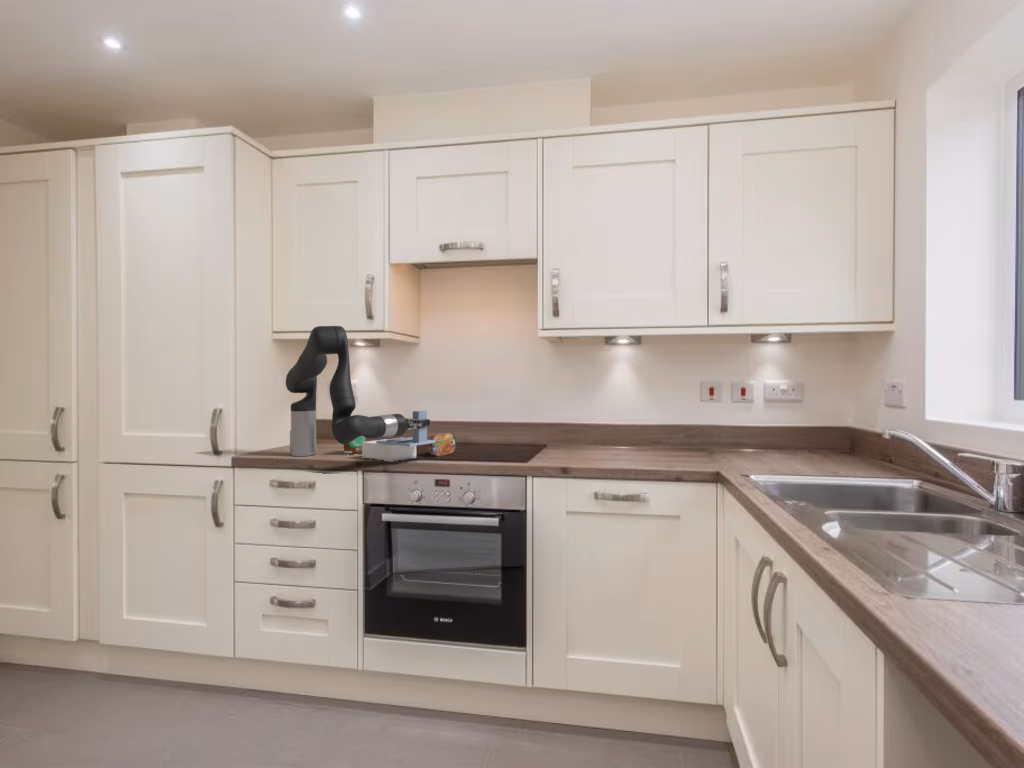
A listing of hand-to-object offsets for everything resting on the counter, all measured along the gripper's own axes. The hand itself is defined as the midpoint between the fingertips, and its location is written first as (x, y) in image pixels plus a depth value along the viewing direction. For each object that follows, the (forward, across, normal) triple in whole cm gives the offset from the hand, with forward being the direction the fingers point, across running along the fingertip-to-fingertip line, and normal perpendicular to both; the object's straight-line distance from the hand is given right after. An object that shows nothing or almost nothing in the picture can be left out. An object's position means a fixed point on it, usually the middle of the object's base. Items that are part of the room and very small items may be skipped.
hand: (425, 422), depth 200 cm
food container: (-2, +35, +14) cm, 38 cm away
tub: (-3, +16, +14) cm, 21 cm away
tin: (+15, +6, +14) cm, 22 cm away
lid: (-3, +7, +8) cm, 11 cm away
